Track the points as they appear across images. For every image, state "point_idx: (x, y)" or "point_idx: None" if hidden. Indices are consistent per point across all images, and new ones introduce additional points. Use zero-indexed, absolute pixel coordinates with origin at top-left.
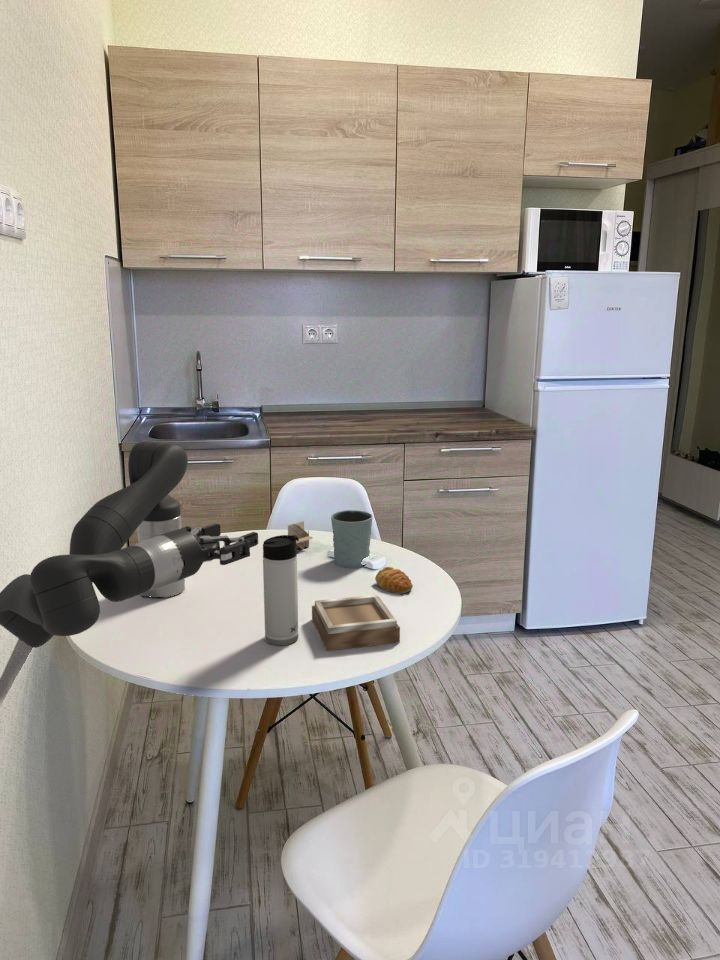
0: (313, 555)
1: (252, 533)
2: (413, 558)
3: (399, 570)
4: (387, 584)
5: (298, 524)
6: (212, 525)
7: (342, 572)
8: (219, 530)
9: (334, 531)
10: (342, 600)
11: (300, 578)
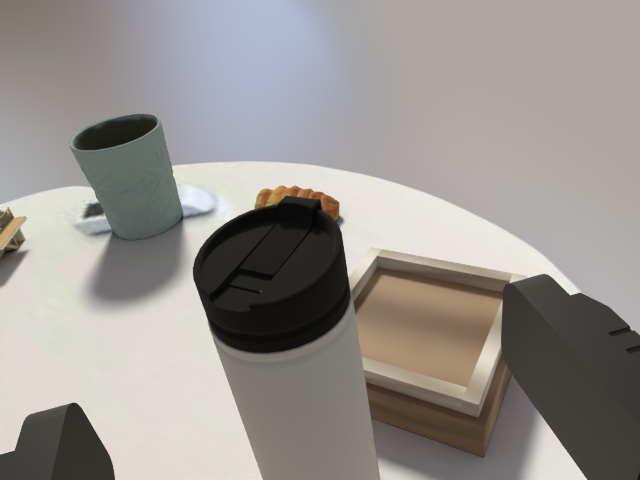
0: (57, 248)
1: (564, 304)
2: (232, 164)
3: (284, 187)
4: None
5: None
6: (34, 476)
7: (166, 247)
8: (96, 445)
9: (100, 177)
10: None
11: (105, 308)
